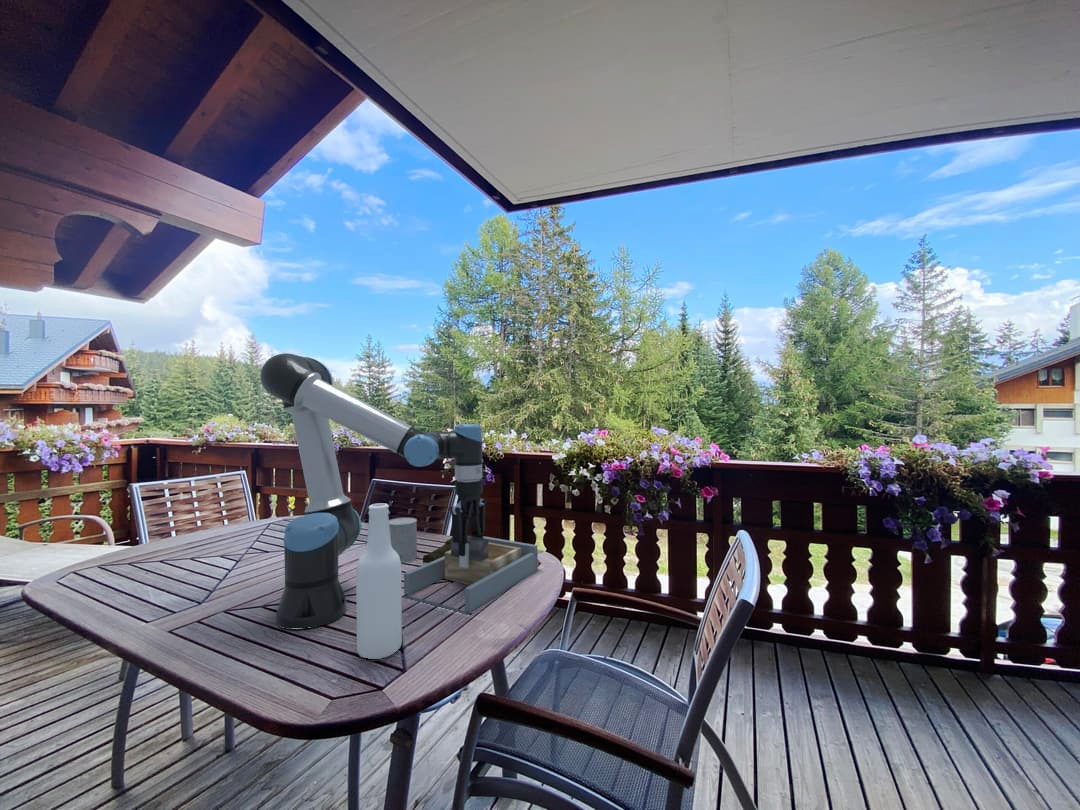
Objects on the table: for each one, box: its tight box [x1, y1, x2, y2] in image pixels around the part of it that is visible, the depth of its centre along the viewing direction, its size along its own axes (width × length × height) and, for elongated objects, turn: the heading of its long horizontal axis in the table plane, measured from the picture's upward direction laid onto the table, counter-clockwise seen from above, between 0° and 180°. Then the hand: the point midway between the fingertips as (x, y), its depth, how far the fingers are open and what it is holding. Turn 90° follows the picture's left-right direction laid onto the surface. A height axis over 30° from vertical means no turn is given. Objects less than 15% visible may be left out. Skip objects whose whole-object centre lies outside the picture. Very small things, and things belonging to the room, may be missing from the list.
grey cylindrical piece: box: [389, 517, 418, 563], centre depth 153 cm, size 10×10×12 cm
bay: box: [403, 535, 539, 617], centre depth 129 cm, size 32×22×8 cm
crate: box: [444, 535, 521, 586], centre depth 132 cm, size 15×17×12 cm
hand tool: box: [422, 538, 451, 564], centre depth 153 cm, size 19×4×5 cm, turn 160°
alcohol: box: [355, 502, 403, 659], centre depth 95 cm, size 9×9×30 cm
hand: (469, 564), depth 127 cm, fingers closed on crate, 4 cm apart
